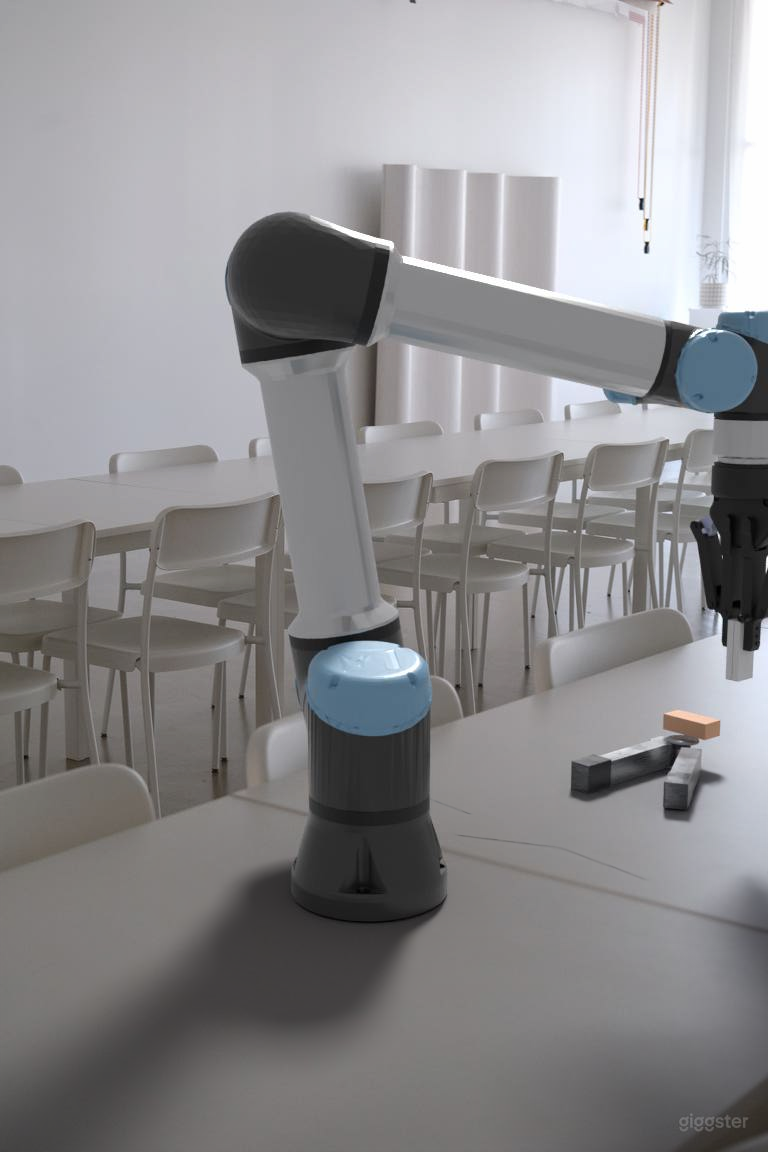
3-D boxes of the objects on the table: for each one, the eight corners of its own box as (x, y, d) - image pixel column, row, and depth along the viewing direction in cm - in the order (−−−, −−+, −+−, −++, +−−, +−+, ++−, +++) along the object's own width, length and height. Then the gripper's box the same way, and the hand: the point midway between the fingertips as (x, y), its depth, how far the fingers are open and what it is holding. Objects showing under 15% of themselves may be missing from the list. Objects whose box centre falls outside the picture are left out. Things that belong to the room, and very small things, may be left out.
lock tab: (677, 724, 176) (678, 709, 176) (719, 735, 171) (720, 720, 171) (663, 729, 174) (663, 713, 174) (704, 740, 170) (705, 724, 169)
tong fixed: (662, 758, 175) (663, 732, 175) (693, 767, 172) (694, 741, 171) (569, 787, 164) (569, 760, 164) (600, 797, 161) (601, 770, 160)
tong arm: (667, 758, 174) (668, 733, 174) (706, 762, 173) (707, 737, 172) (644, 805, 157) (645, 777, 157) (687, 809, 156) (688, 782, 155)
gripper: (824, 462, 143) (812, 684, 147) (718, 453, 153) (709, 662, 157) (782, 466, 138) (771, 696, 142) (675, 457, 148) (668, 672, 152)
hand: (739, 678), depth 149 cm, fingers closed
